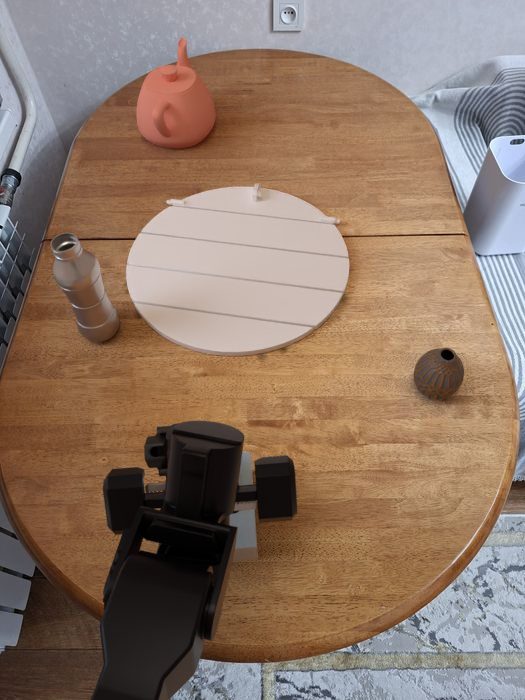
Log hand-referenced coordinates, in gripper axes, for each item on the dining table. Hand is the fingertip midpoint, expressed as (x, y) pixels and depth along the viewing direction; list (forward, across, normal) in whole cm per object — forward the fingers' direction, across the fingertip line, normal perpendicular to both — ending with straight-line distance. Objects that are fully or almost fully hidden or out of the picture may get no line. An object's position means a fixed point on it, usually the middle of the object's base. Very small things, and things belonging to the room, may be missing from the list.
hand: (207, 462), depth 63 cm
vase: (+20, -33, -1) cm, 39 cm away
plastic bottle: (+31, +18, -12) cm, 37 cm away
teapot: (+70, +6, -51) cm, 86 cm away
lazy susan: (+40, -5, -21) cm, 45 cm away
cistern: (+8, 0, +11) cm, 13 cm away
